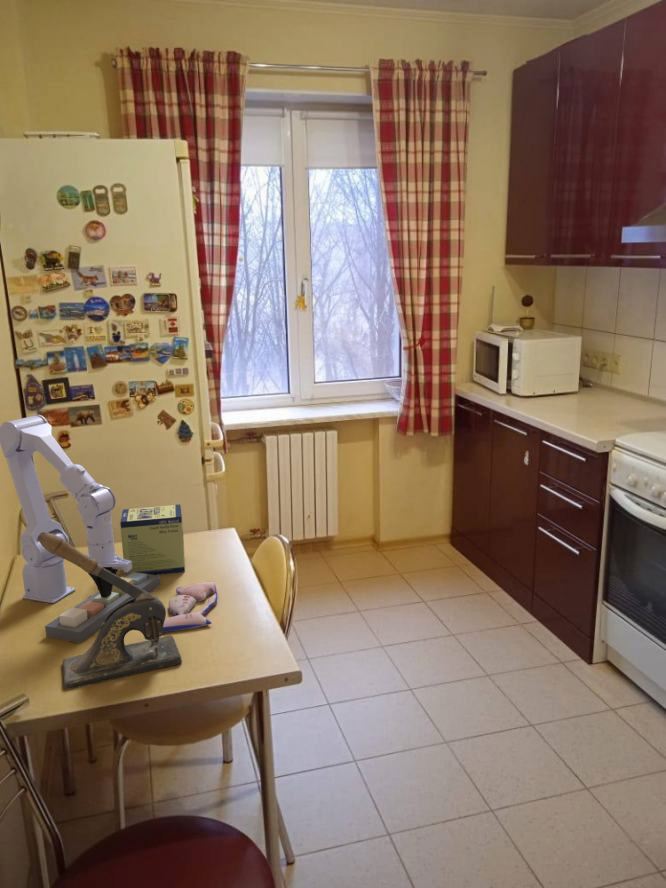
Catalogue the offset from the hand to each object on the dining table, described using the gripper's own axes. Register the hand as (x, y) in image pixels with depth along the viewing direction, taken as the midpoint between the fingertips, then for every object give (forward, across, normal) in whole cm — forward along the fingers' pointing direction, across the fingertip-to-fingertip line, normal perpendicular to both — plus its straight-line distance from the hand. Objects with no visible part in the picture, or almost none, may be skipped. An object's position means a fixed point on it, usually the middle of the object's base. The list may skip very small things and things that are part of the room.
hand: (106, 595), depth 162 cm
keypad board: (+3, 0, 0) cm, 3 cm away
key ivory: (+2, 0, +11) cm, 11 cm away
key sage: (+3, 0, 0) cm, 3 cm away
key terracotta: (+3, 0, +6) cm, 6 cm away
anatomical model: (+4, -18, -6) cm, 19 cm away
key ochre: (+2, 0, -6) cm, 6 cm away
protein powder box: (+4, +3, -24) cm, 24 cm away
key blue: (+3, 0, -11) cm, 12 cm away
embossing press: (+4, -18, +20) cm, 27 cm away
